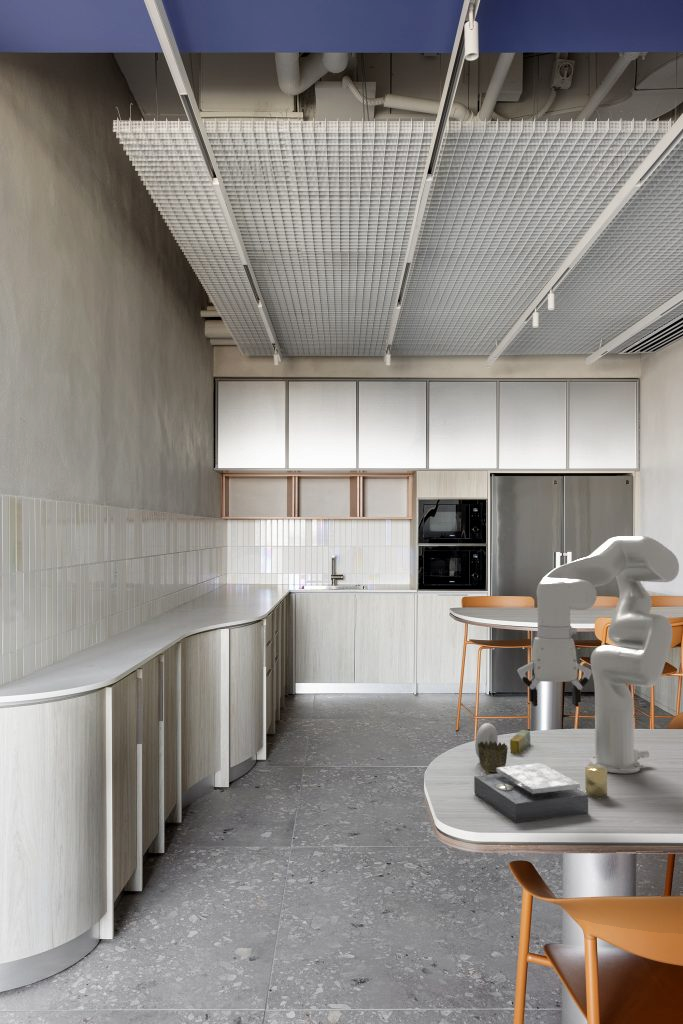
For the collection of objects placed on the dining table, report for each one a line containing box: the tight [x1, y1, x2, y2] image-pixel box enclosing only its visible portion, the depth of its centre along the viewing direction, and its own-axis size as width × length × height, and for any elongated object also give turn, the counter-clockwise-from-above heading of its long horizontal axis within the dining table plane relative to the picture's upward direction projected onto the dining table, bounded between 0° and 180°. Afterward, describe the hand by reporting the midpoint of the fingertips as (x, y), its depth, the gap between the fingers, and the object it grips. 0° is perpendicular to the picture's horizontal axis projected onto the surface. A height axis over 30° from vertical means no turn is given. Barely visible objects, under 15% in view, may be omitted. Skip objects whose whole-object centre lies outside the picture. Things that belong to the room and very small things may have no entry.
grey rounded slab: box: [474, 722, 498, 759], centre depth 190 cm, size 10×4×10 cm, turn 146°
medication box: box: [509, 729, 531, 755], centre depth 202 cm, size 12×3×4 cm, turn 151°
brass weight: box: [584, 765, 608, 799], centre depth 165 cm, size 5×5×6 cm
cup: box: [478, 741, 509, 775], centre depth 177 cm, size 8×7×8 cm
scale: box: [473, 774, 589, 824], centre depth 160 cm, size 18×18×4 cm
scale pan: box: [496, 762, 581, 794], centre depth 160 cm, size 12×15×1 cm
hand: (554, 705), depth 168 cm, fingers open, 9 cm apart
